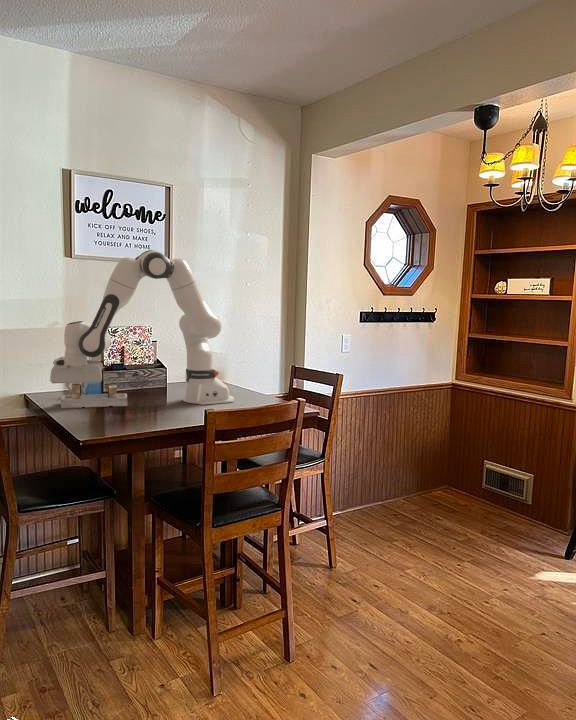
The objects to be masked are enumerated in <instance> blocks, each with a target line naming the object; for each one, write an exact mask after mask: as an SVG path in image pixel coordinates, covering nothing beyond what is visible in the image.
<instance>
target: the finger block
mask: <svg viewBox="0 0 576 720" xmlns="http://www.w3.org/2000/svg"><path fill="white" fill-rule="evenodd" d="M71 389H72V394H71V395H72V399H80V397H81V395H82V393H81V389H82V383H71Z"/></svg>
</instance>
